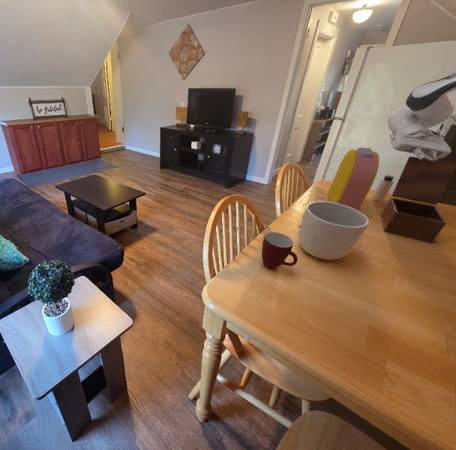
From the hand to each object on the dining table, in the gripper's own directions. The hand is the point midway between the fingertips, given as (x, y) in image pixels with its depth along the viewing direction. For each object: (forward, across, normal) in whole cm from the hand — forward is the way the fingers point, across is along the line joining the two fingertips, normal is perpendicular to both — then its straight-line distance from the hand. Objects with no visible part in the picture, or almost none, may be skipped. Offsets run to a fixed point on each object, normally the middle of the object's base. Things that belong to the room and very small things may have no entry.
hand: (428, 159), depth 93 cm
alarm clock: (+3, -14, +29) cm, 32 cm away
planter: (+40, -41, +17) cm, 59 cm away
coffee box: (+20, 0, +19) cm, 27 cm away
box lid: (+4, +3, +7) cm, 8 cm away
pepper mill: (-6, +7, +29) cm, 30 cm away
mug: (+50, -59, +15) cm, 78 cm away
